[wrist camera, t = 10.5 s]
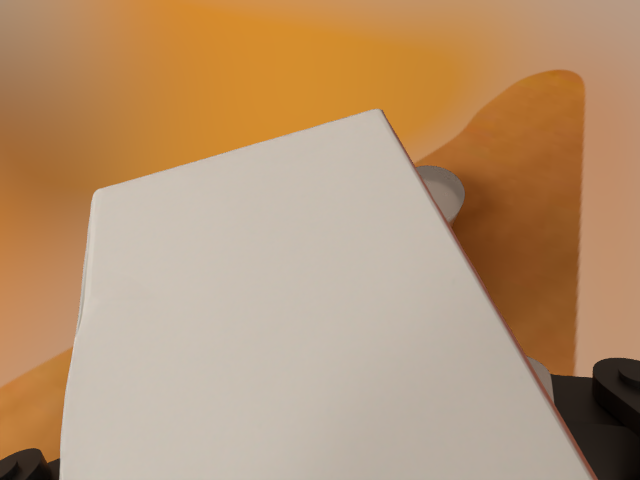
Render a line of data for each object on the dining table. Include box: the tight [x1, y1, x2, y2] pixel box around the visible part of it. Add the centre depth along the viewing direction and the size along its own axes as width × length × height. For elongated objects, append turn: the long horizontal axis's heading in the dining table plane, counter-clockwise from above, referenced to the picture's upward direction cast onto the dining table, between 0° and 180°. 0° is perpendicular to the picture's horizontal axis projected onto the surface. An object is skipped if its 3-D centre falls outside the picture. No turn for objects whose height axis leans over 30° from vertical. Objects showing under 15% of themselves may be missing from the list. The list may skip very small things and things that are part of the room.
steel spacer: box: [416, 166, 465, 228], centre depth 24 cm, size 4×4×4 cm
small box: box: [59, 109, 598, 480], centre depth 10 cm, size 8×6×13 cm
